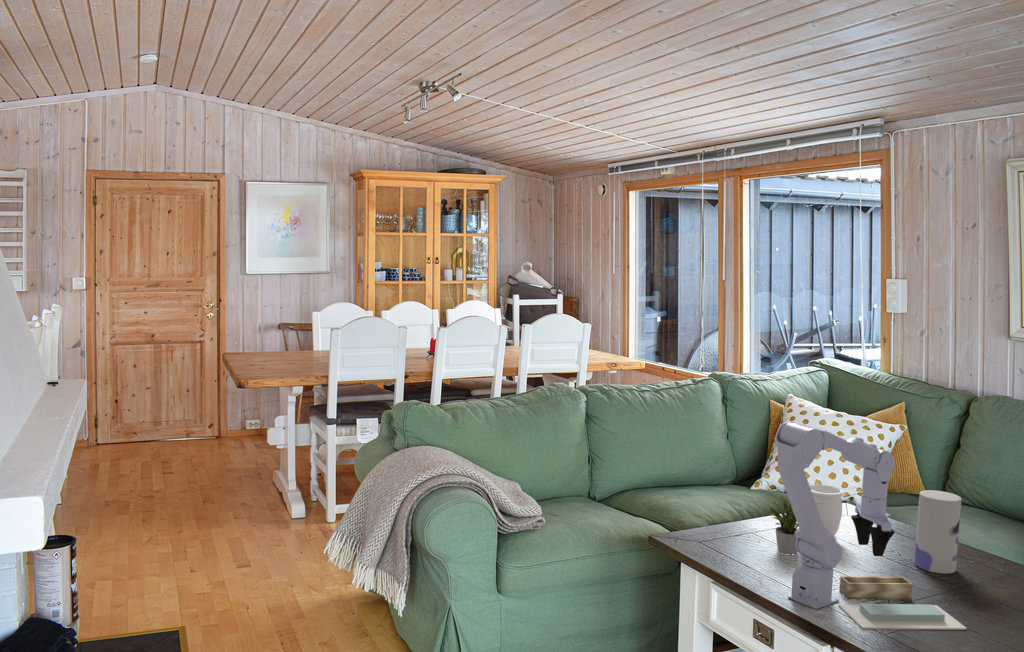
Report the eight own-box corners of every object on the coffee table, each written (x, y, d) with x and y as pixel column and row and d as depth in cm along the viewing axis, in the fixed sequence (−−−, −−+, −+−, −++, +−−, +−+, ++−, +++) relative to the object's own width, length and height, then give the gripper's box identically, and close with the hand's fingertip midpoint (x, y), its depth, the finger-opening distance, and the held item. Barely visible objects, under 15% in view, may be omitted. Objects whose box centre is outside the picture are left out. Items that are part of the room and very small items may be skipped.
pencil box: (847, 599, 200) (848, 583, 200) (839, 592, 205) (840, 576, 204) (911, 599, 201) (912, 584, 201) (902, 592, 205) (903, 576, 205)
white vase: (816, 546, 237) (819, 495, 236) (794, 534, 247) (797, 484, 246) (847, 543, 240) (851, 493, 239) (825, 531, 250) (828, 483, 248)
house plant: (811, 544, 238) (814, 489, 237) (824, 562, 224) (828, 503, 223) (760, 541, 239) (763, 486, 238) (770, 559, 226) (774, 500, 224)
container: (960, 576, 218) (966, 501, 216) (920, 572, 219) (925, 498, 218) (948, 562, 227) (954, 491, 226) (909, 558, 229) (915, 488, 227)
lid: (870, 621, 188) (871, 614, 187) (859, 610, 193) (859, 603, 193) (944, 621, 188) (944, 614, 188) (930, 611, 194) (931, 604, 194)
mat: (862, 629, 184) (862, 627, 184) (838, 606, 196) (838, 604, 196) (966, 629, 186) (966, 628, 185) (936, 606, 197) (936, 605, 197)
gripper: (905, 505, 197) (901, 561, 198) (875, 488, 211) (871, 539, 212) (876, 505, 196) (872, 560, 198) (848, 487, 211) (845, 539, 212)
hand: (870, 550), depth 205 cm, fingers open, 7 cm apart
